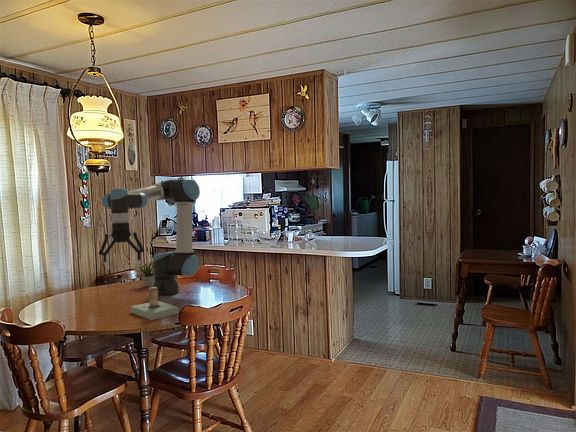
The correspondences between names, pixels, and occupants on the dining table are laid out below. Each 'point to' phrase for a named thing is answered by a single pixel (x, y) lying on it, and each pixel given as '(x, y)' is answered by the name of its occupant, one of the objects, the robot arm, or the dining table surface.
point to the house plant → (147, 275)
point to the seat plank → (154, 310)
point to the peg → (153, 297)
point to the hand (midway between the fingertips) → (122, 268)
